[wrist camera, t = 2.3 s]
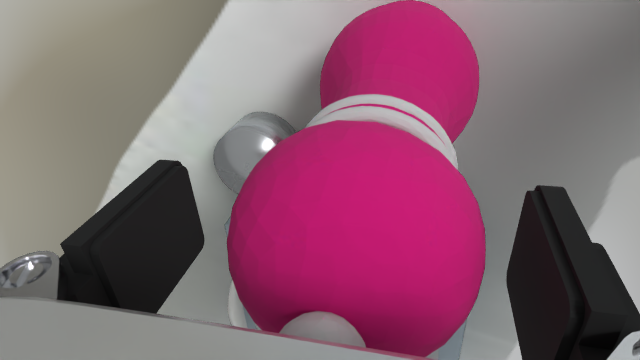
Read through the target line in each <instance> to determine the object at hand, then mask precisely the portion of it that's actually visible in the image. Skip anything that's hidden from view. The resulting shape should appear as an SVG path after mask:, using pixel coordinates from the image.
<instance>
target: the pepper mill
mask: <svg viewBox="0 0 640 360" xmlns="http://www.w3.org/2000/svg"><path fill="white" fill-rule="evenodd" d="M478 90H479V66H478V62H477V57H476V54H475V51H474V49H473V47H472V44H471V42H470V41H469V39H468V38H467V36H466V34H465V33H464V32H463V31H462V29H461V28H460V27H459V26H458V25H457V24H456V23H455V22H454V21H452V20H451V19H450V18H449V17H448V16H447V15H446V14H445V13H444V12H443V11H441V10H440V9H438V8H436V7H435V6H432V5H430V4H427V3H424V2H420V1H414V0H406V1H397V2H393V3H389V4H386V5H382V6H379V7H376V8H374V9H371V10H369V11H366V12H365V13H363V14H361V15H360V16H358V17H356V18H355V19H354V20H353V21H352V22H350V23H349V24H348V25H347V26H346V27H344V29H343V30H342V31H341V33H340V34H339V35H338V36H337V38H336V39H335V41H334V43H333V44H332V46H331V48H330V50H329V52H328V54H327V56H326V59H325V62H324V65H323V68H322V71H321V81H320V94H321V106H322V110H321V111H320V112H319V113H318V114H316V115H315V116H314V117H313V119H312V120H311V121H310V122H309V123H308V124H307V126H306V127H305V128H304V129H302V130H301V131H299V132H297V133H295V134H293V135H291V136H289V137H287V138H285V139H284V140H282V141H280V142H279V143H278V144H277V145H276V146H274V147H273V148H272V149H271V150H270V151H269V152H268V153H267V154H266V155H265V156H264V157H263V158H262V159H261V160H260V161H259V162H258V163H257V164H256V165H255V167H254V168H253V169H252V171H251V172H250V174H249V176H248V177H247V179H246V180H245V182H244V184H243V186H242V188H241V190H240V192H239V195H238V197H237V199H236V201H235V203H234V205H233V207H232V213H231V219H230V225H229V231H228V238H227V250H228V262H229V271H230V274H231V277H232V280H233V282H234V285H235V288H236V291H237V294H238V297H239V299H240V301H241V303H242V304H243V306H244V307H245V309H246V310H247V312H248V313H249V315H250V316H251V318H252V320H253V321H254V323H255V324H256V325H257V326H258V327H259V328H260V329H261V330H262V331H268V332H274V333H280V334H286V335H292V336H299V337H305V338H311V339H317V340H323V341H329V342H335V343H341V344H347V345H353V346H359V347H365V348H371V349H377V350H383V351H389V352H395V353H401V354H407V355H413V356H419V357H426V356H428V355H429V354H431V353H433V352H434V351H436V350H437V349H439V348H440V347H442V346H443V345H445V344H446V343H447V341H448V340H449V339H450V338H451V337H452V336H453V335H454V333H455V332H456V331H457V330H458V329H459V328H460V327H461V325H462V324H463V323H464V322H465V320H466V318H467V317H468V315H469V313H470V311H471V309H472V307H473V305H474V303H475V301H476V299H477V296H478V293H479V289H480V285H481V281H482V277H483V273H484V270H485V251H486V249H485V228H484V224H483V221H482V217H481V213H480V209H479V206H478V202H477V200H476V199H475V197H474V195H473V193H472V191H471V189H470V187H469V186H468V184H467V182H466V180H465V178H464V177H463V176H462V175H461V174H460V172H459V171H458V162H457V157H456V152H455V150H454V147H453V145H452V143H453V142H454V141H455V140H456V138H457V137H458V136H459V134H460V133H461V132H462V131H463V129H464V128H465V126H466V124H467V123H468V121H469V119H470V118H471V116H472V114H473V111H474V108H475V105H476V102H477V96H478Z"/></svg>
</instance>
